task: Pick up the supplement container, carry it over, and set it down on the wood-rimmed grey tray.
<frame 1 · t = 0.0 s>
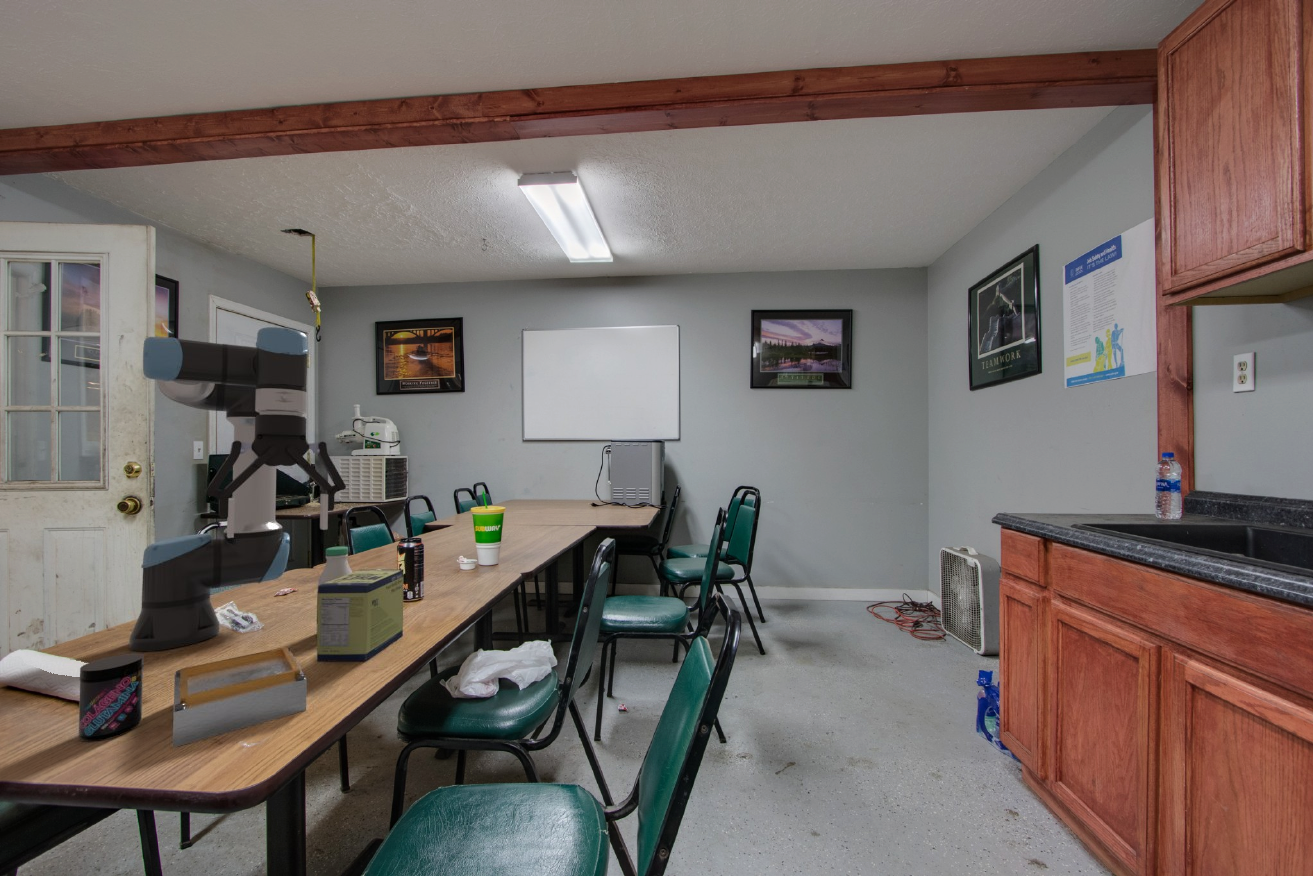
hand: (279, 533, 93), 28 cm above the table, tool pointing down, fingers open, 13 cm apart
protein box: (362, 649, 113), on the table
wood-rimmed grey tray: (239, 707, 86), on the table
supplement container: (110, 732, 79), on the table
milk bottle: (335, 633, 123), on the table
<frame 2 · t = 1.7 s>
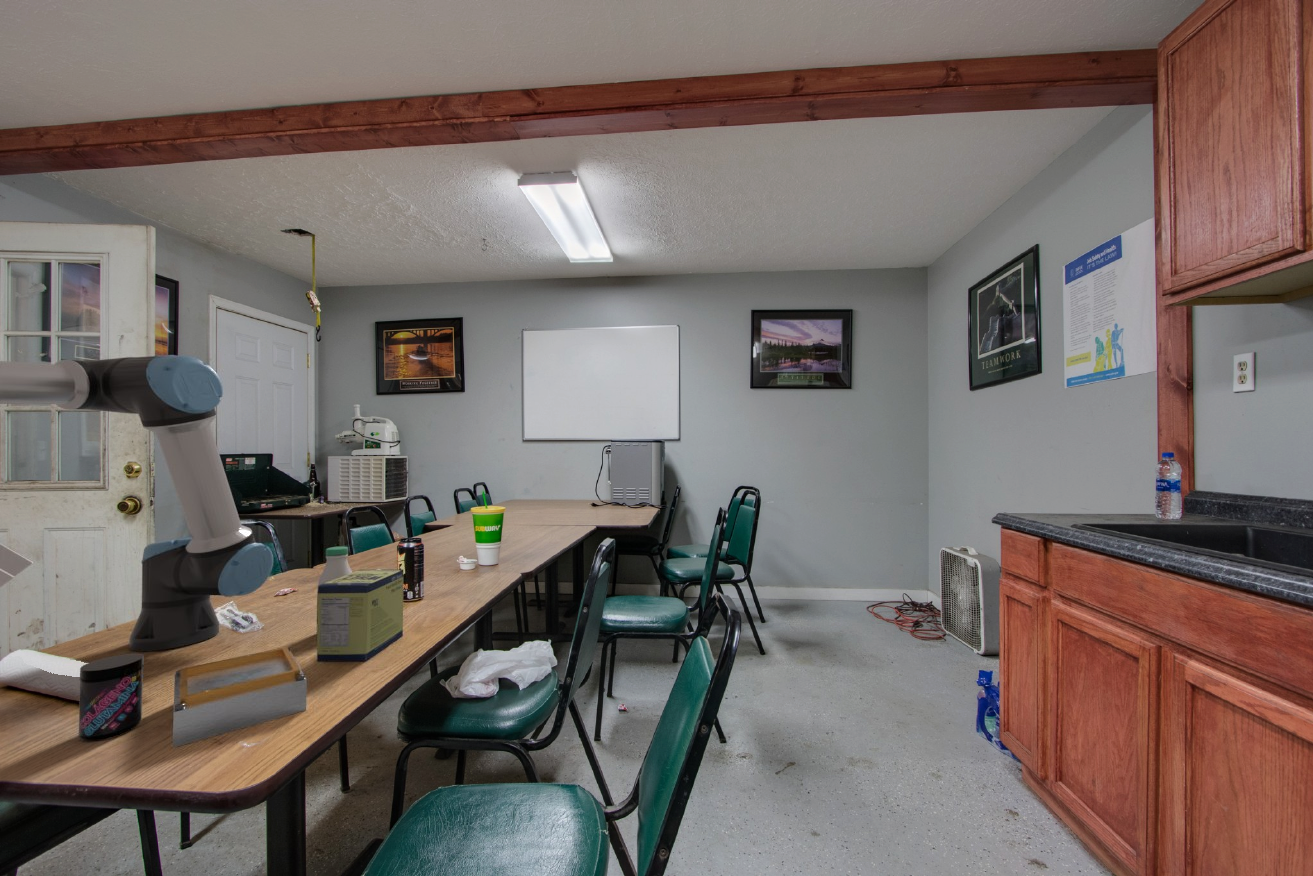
hand: (13, 577, 73), 25 cm above the table, tool tilted 45°, fingers open, 13 cm apart
nothing on the table moved.
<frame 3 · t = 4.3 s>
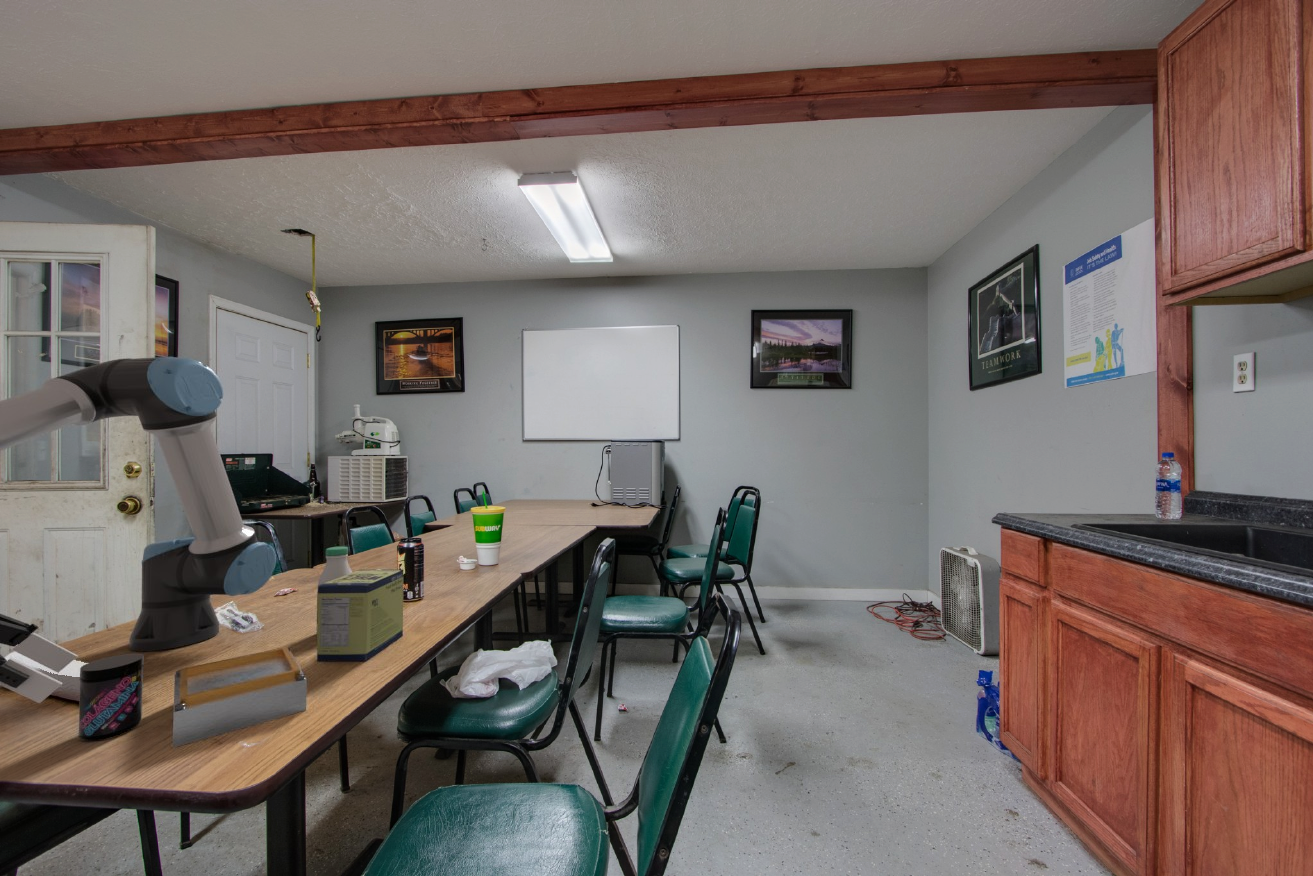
hand: (60, 677, 75), 10 cm above the table, tool tilted 45°, fingers open, 13 cm apart
nothing on the table moved.
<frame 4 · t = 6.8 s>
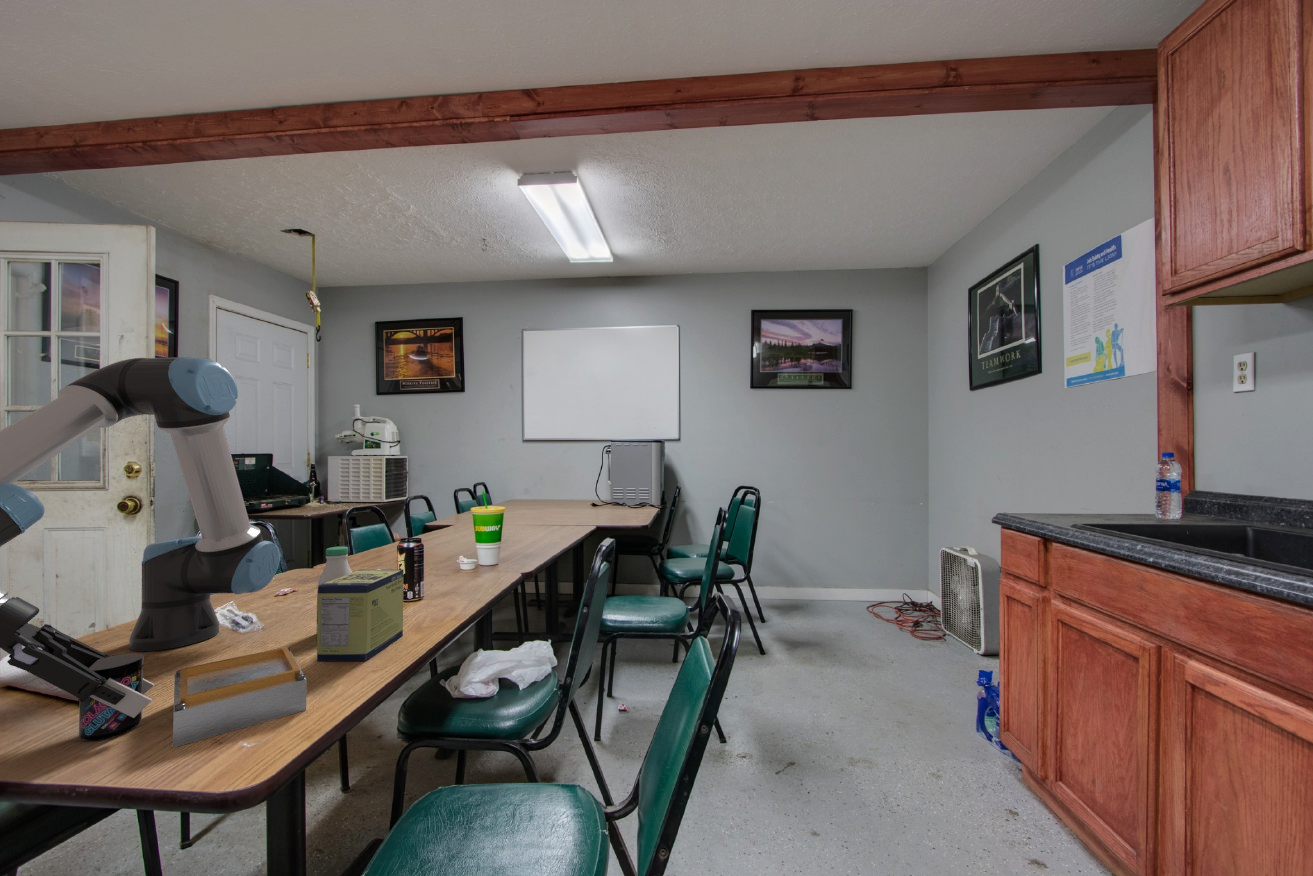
hand: (144, 700, 81), 3 cm above the table, tool tilted 45°, fingers closed on supplement container, 7 cm apart
supplement container: (110, 732, 79), on the table, touching gripper
everything else where it was.
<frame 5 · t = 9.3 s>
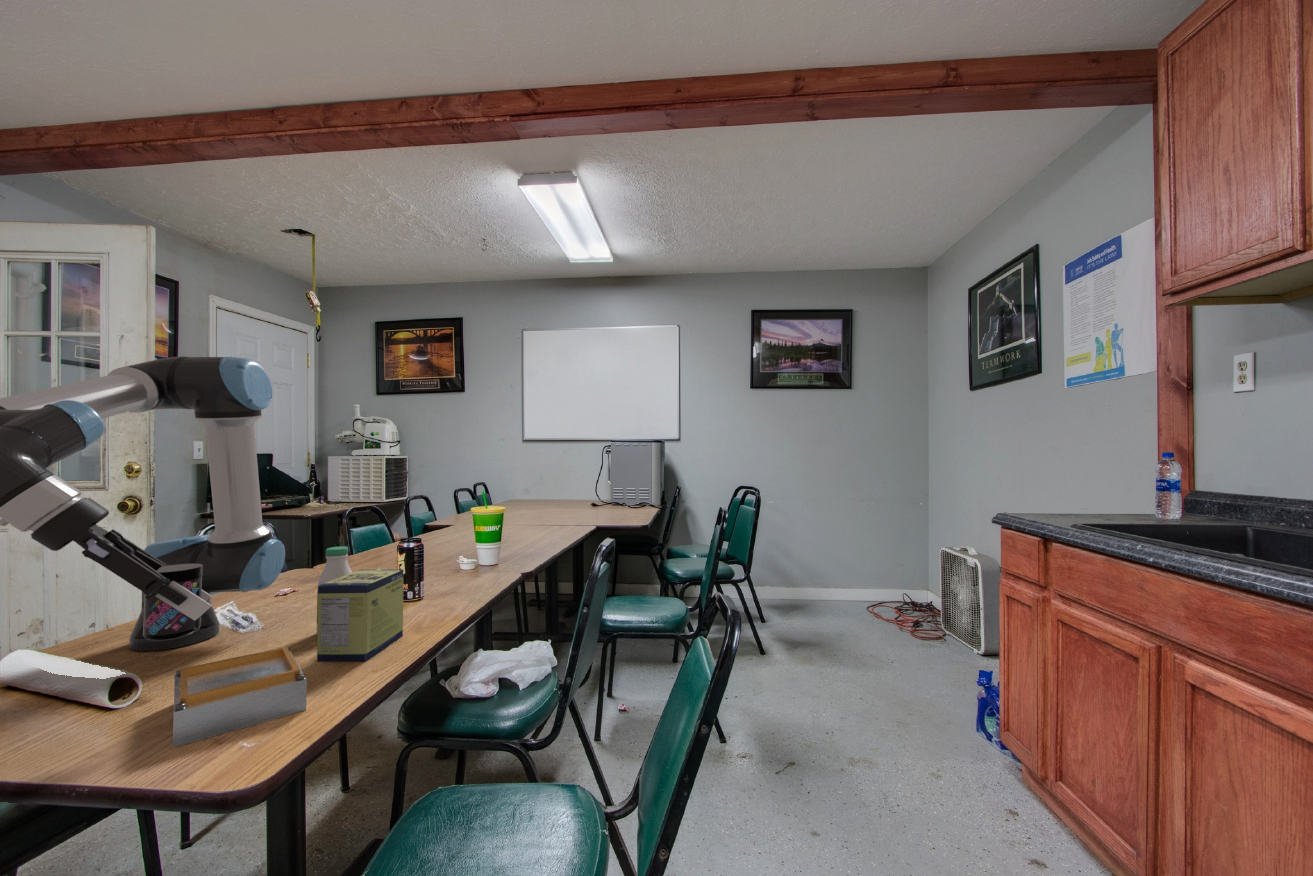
hand: (203, 607, 84), 17 cm above the table, tool tilted 45°, fingers closed on supplement container, 7 cm apart
supplement container: (172, 635, 82), point 13 cm above the table, touching gripper
everything else where it was.
when the fingers open (10 cm above the table, at t = 11.9 s): supplement container drops 1 cm, resting on wood-rimmed grey tray.
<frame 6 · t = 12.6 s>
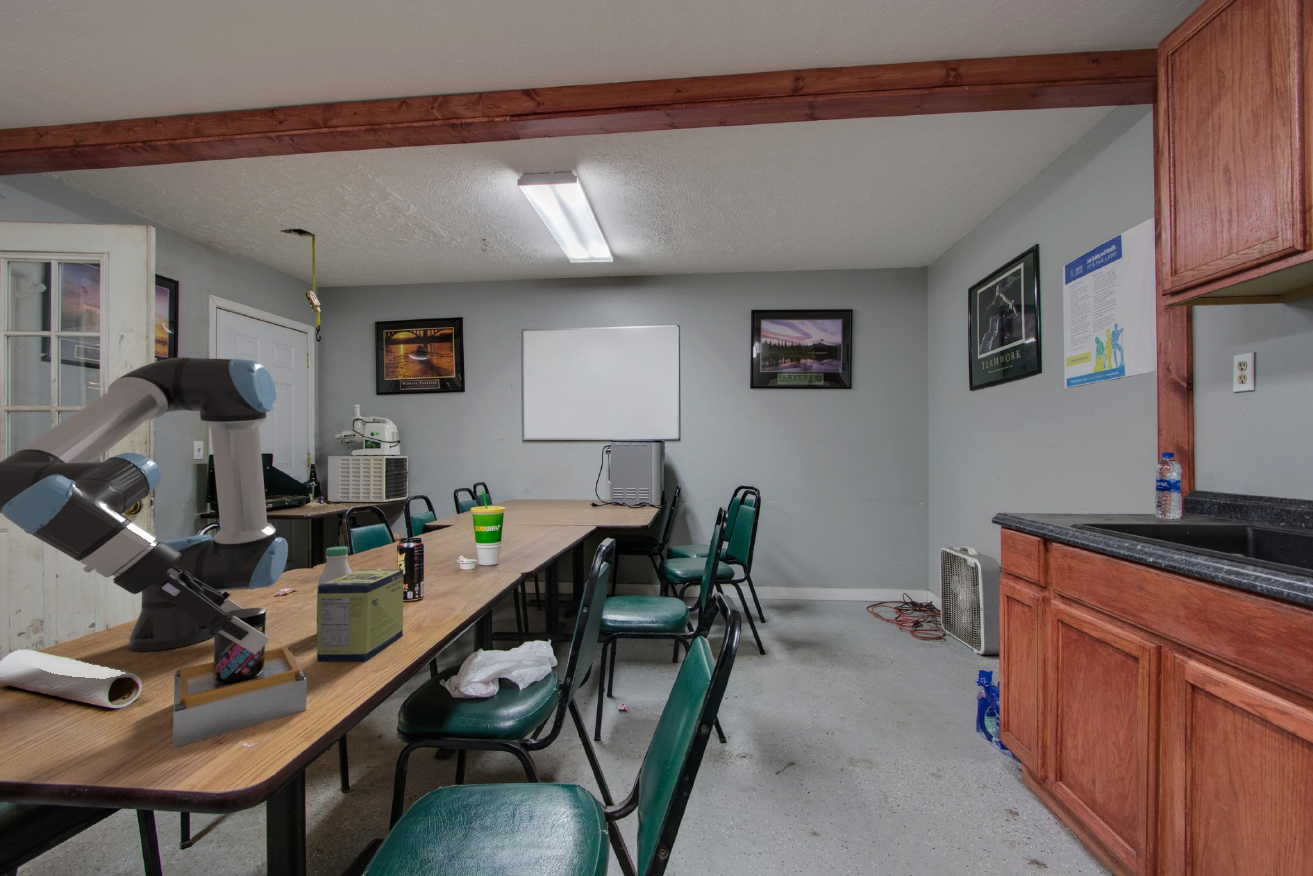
hand: (258, 635, 88), 11 cm above the table, tool tilted 45°, fingers open, 13 cm apart
supplement container: (239, 678, 86), point 5 cm above the table, touching wood-rimmed grey tray
everything else where it was.
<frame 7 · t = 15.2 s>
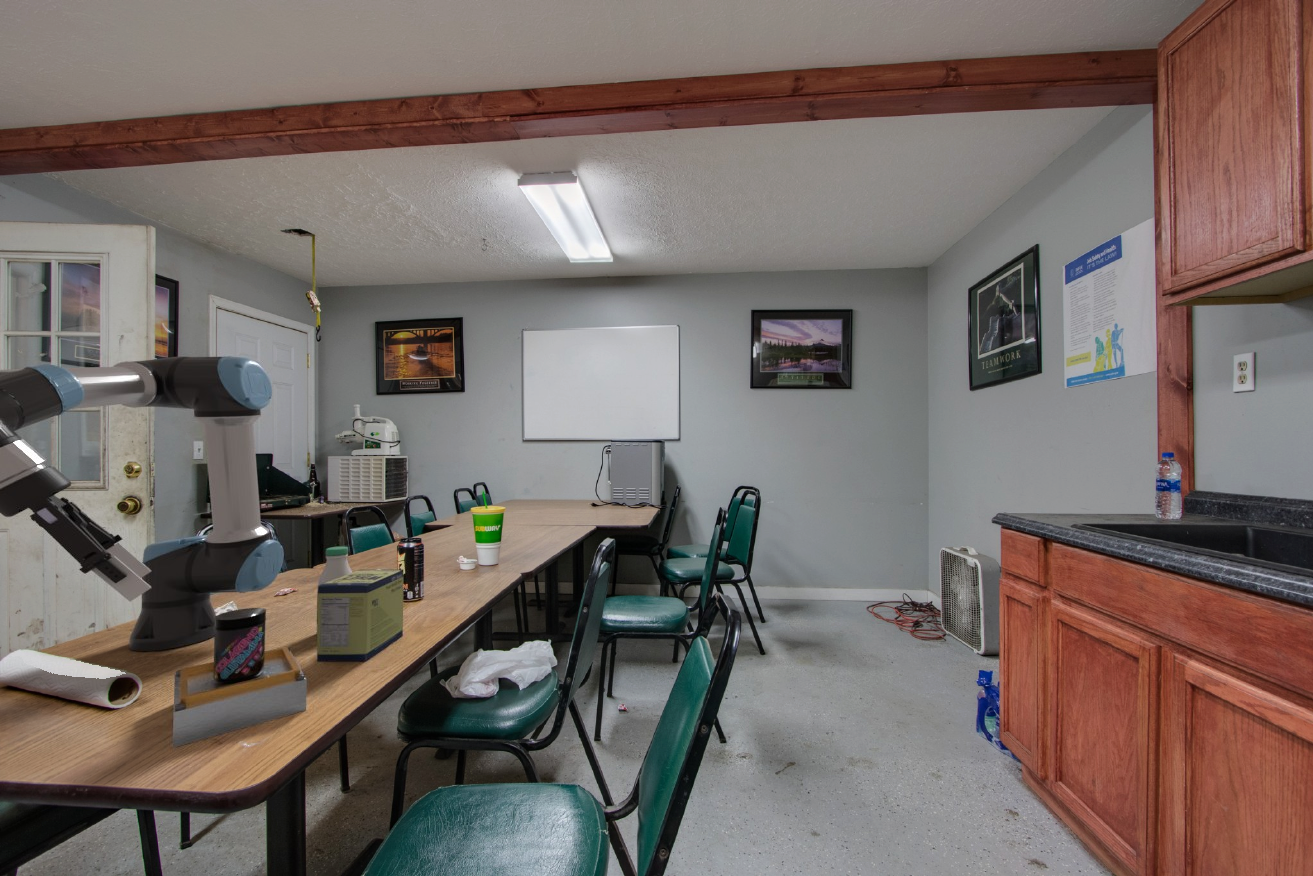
hand: (141, 585, 81), 22 cm above the table, tool tilted 35°, fingers open, 13 cm apart
nothing on the table moved.
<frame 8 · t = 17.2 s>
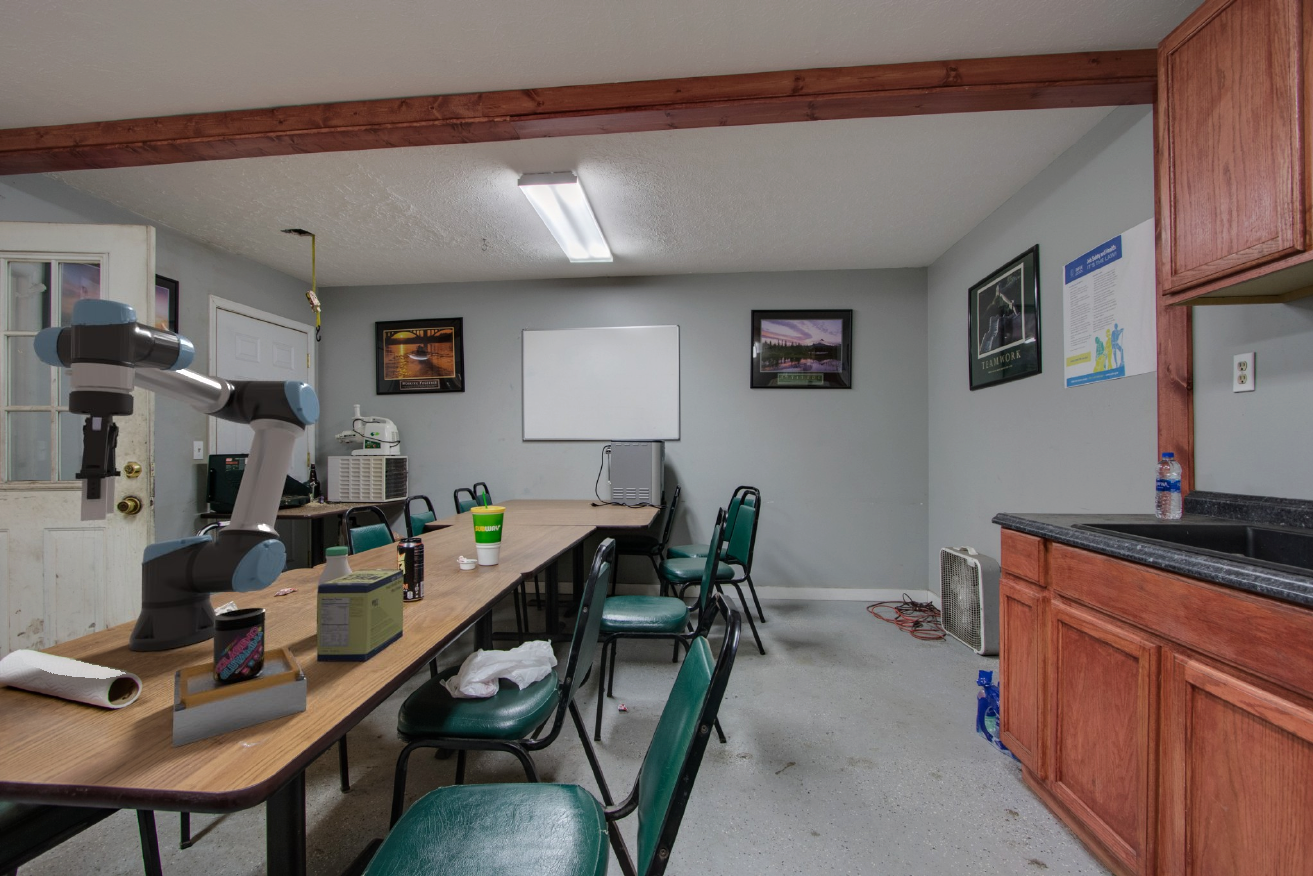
hand: (98, 516, 87), 32 cm above the table, tool pointing down, fingers open, 13 cm apart
nothing on the table moved.
at the end: supplement container inside the target area on the wood-rimmed grey tray (0.1 cm from its centre), point 4.8 cm above the wood-rimmed grey tray's base; supplement container tilted 0°; the gripper is holding nothing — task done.
